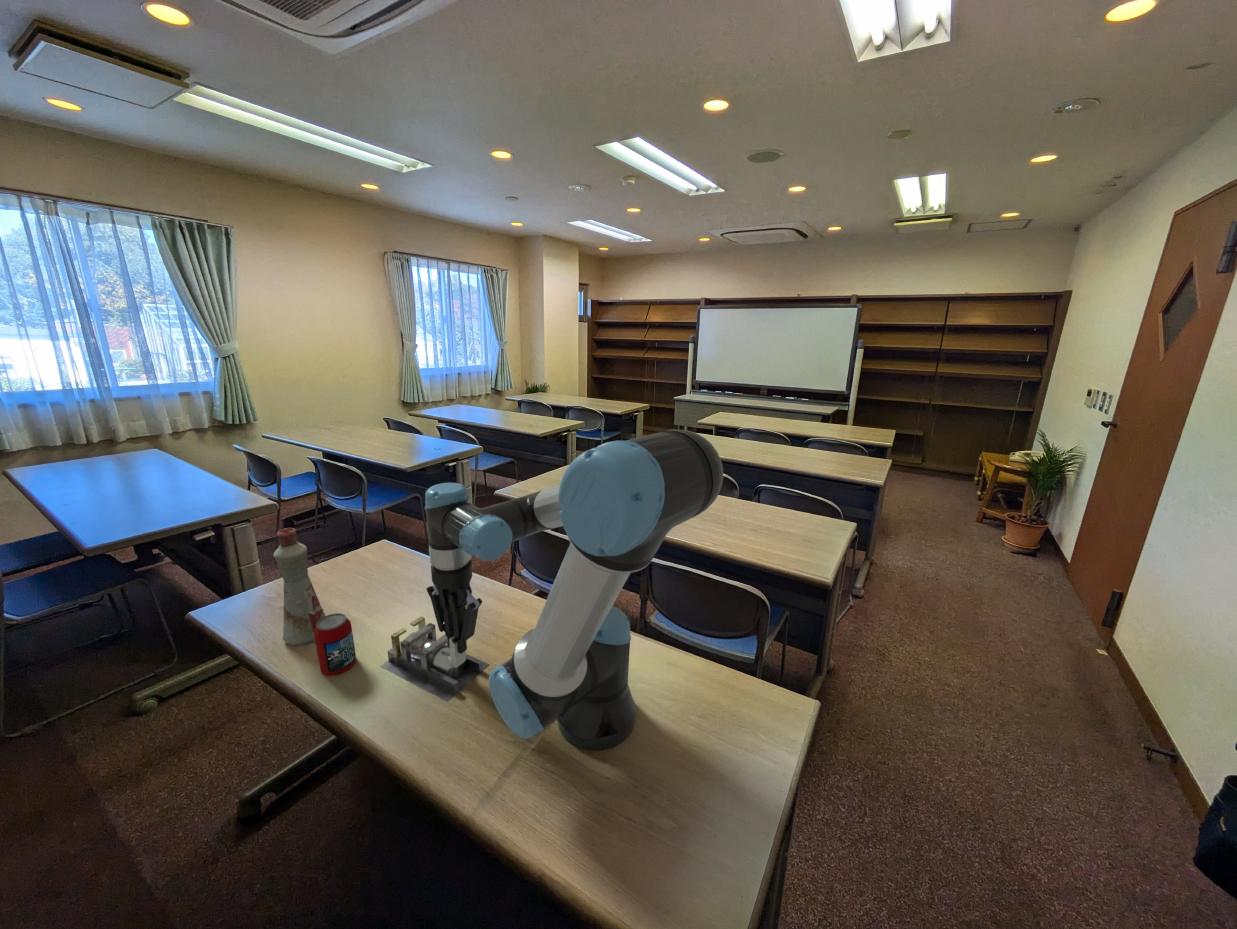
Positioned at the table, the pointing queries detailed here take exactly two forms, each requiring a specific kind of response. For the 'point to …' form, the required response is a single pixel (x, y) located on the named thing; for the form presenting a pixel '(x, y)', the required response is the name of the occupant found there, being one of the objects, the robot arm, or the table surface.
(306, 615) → the bottle
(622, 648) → the robot arm
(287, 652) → the table surface
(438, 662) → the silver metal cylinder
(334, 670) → the beverage can
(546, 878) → the table surface
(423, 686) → the grey slotted rack
